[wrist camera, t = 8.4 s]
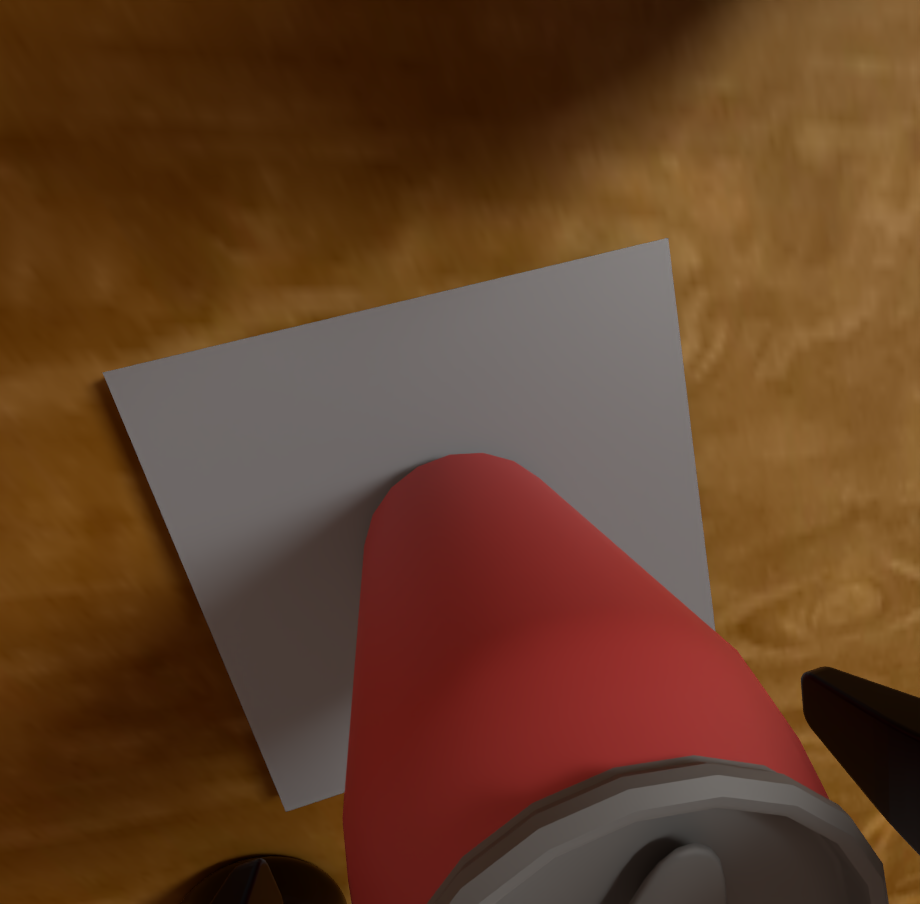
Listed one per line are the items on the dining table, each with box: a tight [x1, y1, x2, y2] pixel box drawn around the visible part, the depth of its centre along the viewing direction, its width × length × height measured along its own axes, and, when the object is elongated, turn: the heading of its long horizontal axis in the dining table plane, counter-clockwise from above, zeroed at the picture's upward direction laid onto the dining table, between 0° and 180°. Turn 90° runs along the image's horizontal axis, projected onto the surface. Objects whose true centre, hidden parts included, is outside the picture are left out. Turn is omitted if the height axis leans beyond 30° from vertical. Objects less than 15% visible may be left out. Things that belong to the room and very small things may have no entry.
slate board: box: [103, 238, 715, 812], centre depth 17 cm, size 17×16×1 cm
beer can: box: [343, 453, 889, 904], centre depth 11 cm, size 7×7×12 cm
